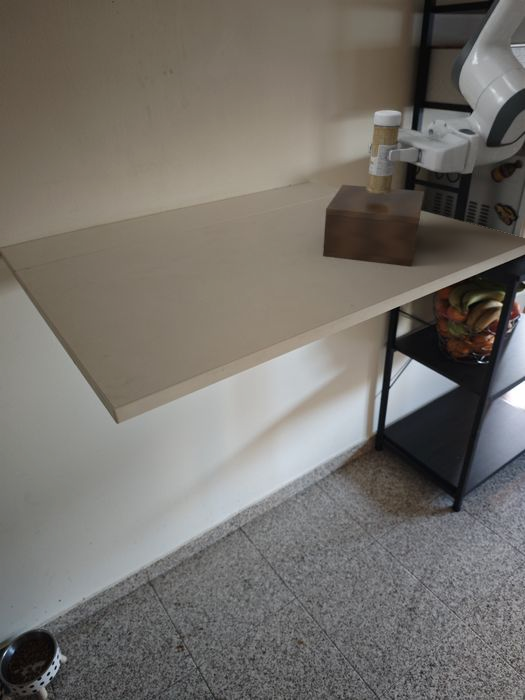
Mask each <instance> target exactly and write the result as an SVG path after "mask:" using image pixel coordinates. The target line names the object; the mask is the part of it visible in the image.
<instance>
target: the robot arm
mask: <svg viewBox="0 0 525 700" xmlns="http://www.w3.org/2000/svg"><path fill="white" fill-rule="evenodd" d="M484 15H485V16H484V17H483V18H482V20H481V22H480V24H479V25H478V27H477V29H476V30H475V31H474V34H473V35H472V36H471V38H470V39H469V41H467V42H466V44H465V45H464V46H463V47H462V48H461V50H460V51H459V53H458V54H457V55H456V58H455V60H454V62H453V64H452V67H451V73H450V82H451V85H452V87H453V88H454V89H455V90H456V91H457V92H458V94H459V95H461V97H462V98H463V99H465V101H466V102H467V104H468V105H469V106H470V108H471V109H472V113H471V114H470V115H469V116H468V117H453V118H443V119H442V118H441V119H435V120H433V121H431V122H430V123H429V124H428V125H427V126H426V127H425V129H424V131H419V130H415V129H411V128H399V132H398V138H397V149H396V148H394V149H388V150H387V151H386V159H387V160H389V161H392V162H393V161H395V162H406V163H409V164H412V165H415V166H418V167H420V168H423V169H425V170H428V171H431V172H434V173H441V174H446V173H447V174H448V173H451V174H452V173H457V174H462V175H468V174H472V173H473V171H474V168H475V167H481V166H487V165H492V164H496V163H499V162H502V161H504V160H507V159H509V158H511V157H513V156H514V155H515V154H517V153H518V152H519V150H520V149H521V147H522V146H523V145H524V143H525V66H523V64H522V63H521V61H519V59H518V58H517V57H516V56H515V54H514V53H513V49H512V45H511V44H512V43H511V42H512V37H513V35H514V34H515V32H516V31H517V29H518V28H519V26H520V25H521V23H522V22H523V20H524V19H525V0H493V2H492V3H491V5H490V7H489V8H488V10H487V12H486V14H484ZM371 148H372V142H370V143H369V144H368V149H367V152H368V154H370V155H371Z"/></svg>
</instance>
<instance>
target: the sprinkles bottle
mask: <svg viewBox="0 0 525 700" xmlns="http://www.w3.org/2000/svg"><path fill="white" fill-rule="evenodd" d="M373 115H374V116H373V133H372V141H371V143H372V148H371V154H370V158H369V168H368V176H367V177H368V180H367V186H366V187H367V191H368V192H369V193H372V194H388V193H390V192H391V189H392V183H393V174H394V172H395V171H394V170H395V163H396V161H393V162H392V161H389V160H387V159H386V151H387V150H388V149H394V148H396V149H397V138H398V132H399V129H400V128H401V127H400V125H401V123H402V117H403V116H402V112H401V111H399V110H388V109H384V110H383V109H382V110H377V111H375V112H374V114H373Z"/></svg>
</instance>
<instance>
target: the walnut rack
mask: <svg viewBox="0 0 525 700" xmlns="http://www.w3.org/2000/svg"><path fill="white" fill-rule="evenodd" d="M424 195H425V191H424V190H415V189H414V190H413V189H400V188H391V192H390V193H388V194H372V193H369V192H368V191H367V186H362V185H353V184H351V185H350V184H342V185H341V186H340V188H339V190H338V191H337V192H336V194H335V195H334V197H333V198H332V199H331V201H330V202H329V203H328V206H327V207H326V208H325V221H324V235H323V249H322V250H323V251H322V257H329V258H337V259H338V258H339V259H344V260H345V259H346V260H353V261H363V262H371V263H379V264H389V265H397V266H403V267H411V266H412V262H413V257H414V252H415V245H416V241H417V236H418V230H419V224H420V219H421V213H422V207H423V201H424Z"/></svg>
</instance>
